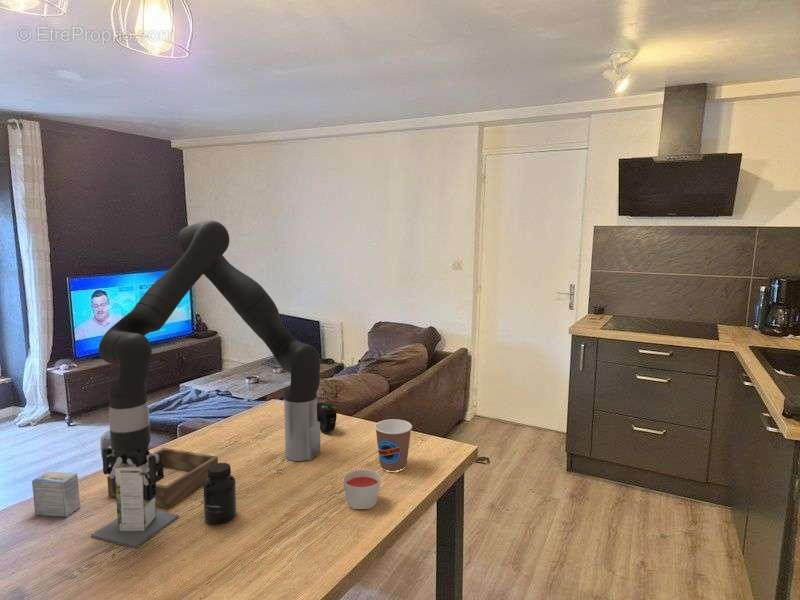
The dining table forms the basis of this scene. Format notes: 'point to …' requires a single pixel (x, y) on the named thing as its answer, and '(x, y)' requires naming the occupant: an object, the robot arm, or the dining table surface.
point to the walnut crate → (184, 484)
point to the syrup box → (133, 499)
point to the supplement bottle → (219, 494)
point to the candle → (362, 488)
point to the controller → (326, 417)
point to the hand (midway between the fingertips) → (134, 496)
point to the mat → (134, 537)
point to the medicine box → (56, 494)
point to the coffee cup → (393, 443)
